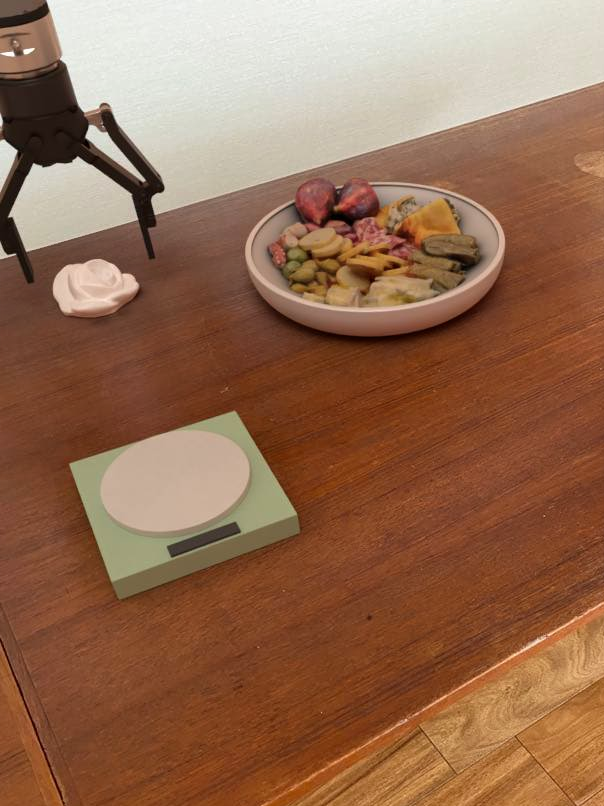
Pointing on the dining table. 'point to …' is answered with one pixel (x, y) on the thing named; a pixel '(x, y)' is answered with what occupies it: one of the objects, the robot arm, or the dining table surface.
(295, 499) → the dining table surface
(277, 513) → the scale
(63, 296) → the rose
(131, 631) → the dining table surface
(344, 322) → the bowl
